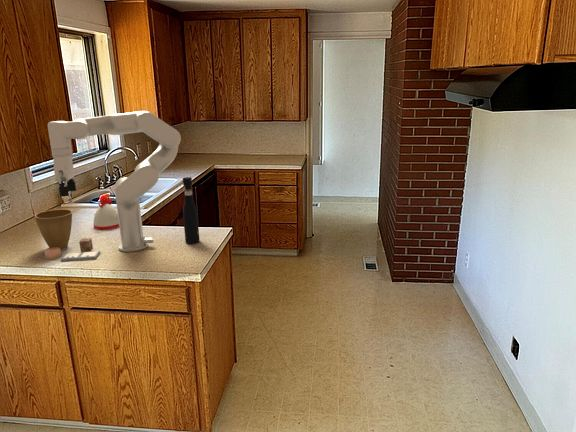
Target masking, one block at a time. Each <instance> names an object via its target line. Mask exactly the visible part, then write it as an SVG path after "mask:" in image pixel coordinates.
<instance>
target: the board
mask: <svg viewBox="0 0 576 432" xmlns="http://www.w3.org/2000/svg"><path fill="white" fill-rule="evenodd" d="M99 255H101V251H100V250H95V251H94V250H91V252H81V251H79V252H67V253H65V254H64V255H63V256H61V257H60V262H69V261H85V260H86V261H87V260H97V258H98V257H99Z"/></svg>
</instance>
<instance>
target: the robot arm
mask: <svg viewBox="0 0 576 432" xmlns="http://www.w3.org/2000/svg"><path fill="white" fill-rule="evenodd" d="M47 130H48V137H49V143H50V150H51V156H52V158H53V173H54V179H55V181H56V182H57V185H58V190H59V195H60V196H59V197H69V192H76V191H77V186H76V178H75V168H74V163H73V157H72V156H73V154H74V153H73V147H72V142H71V141H72V139H74V140H83V139H86V138H87V137H92V136H99V135H100V136H101V135H109V136H110V135H112V136H121V135H127V134H135V133H136V134H137V133H144V134H145V135H146V136H147V137H150V138H151V139H153V140H154V141H155V142H157V143H159V145H158V146H157V148H156V149H155V151H153V152H152V153H151V154H150V155H149V156H147V157H146V158H145V159H144V160H142V161H141V162H140V163H139V164H137V165H136V167H135V168H134V171H133V172H132V173H131V174H130V175H129V176H125V177H121V178H119V179H118V180H117V181H116V182H115V184H114V188H113V189H114V197H115V202H116V210H117V212H118V220H119V227H118V228H119V233H120V241H121V243H120V244H119V245H118V250H119V251H120V252H126V253H127V252H128V253H131V252H138V251H141V250H145V249H146V248H148V245H149V244H154V243H155V239H154V238H152V237H146V235H145V234H144V231H143V230H144V229H143V221H142V220H143V219H142V213H141V206H140V205H141V204H140V198H141V197H143V196H144V195H145V194H146V193H147V192H149V191H150V190H151V189H152V188H153V187H154V186H155V185H156V184H157V183H158V181H159V179H160V174H161V173H162V172H163V171H165V170H166V168H168V167H169V166H170V165H171V164H172V162H174V160H175V158H176V157H177V154H178V151H179V145H180V144H181V140H182V137H181V134H180V132H179V131H178V130H177V129H176V128H174V127H173V126H171V125H169V124H168V123H166V122H165V121H164V120H162V119H161V118H159V117H158V116H157V115H155V114H154V113H152V112H150V111H149V110H148V111H147V110H139V111H132V112H124V113H114V114H113V113H112V114H107V115H102V116H101V115H100V116H94V117H84V118H77V119H74V120H72V121H65V120H56V121H54V120H52V121H49V122H48V123H47Z"/></svg>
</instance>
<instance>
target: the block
mask: <svg viewBox="0 0 576 432" xmlns="http://www.w3.org/2000/svg"><path fill="white" fill-rule="evenodd" d="M78 243H79V249H80V252H92V251H93V249H94V247H93V241H92V238H91V237H87V238H86V237H85V238H81V239H80V240H79V242H78Z"/></svg>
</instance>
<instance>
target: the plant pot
mask: <svg viewBox="0 0 576 432" xmlns="http://www.w3.org/2000/svg"><path fill="white" fill-rule="evenodd" d="M34 217H35V222H36V224H37V227H38V230H39V232H40V234H41V236H42V238H43V240H44V241H45V244H46V245H47V247H48V248H53V247H59V248H60V250H62V249H66V248H67V247H68V245H69V242H70V238H71V234H72V233H71V232H72V226H73V210H71V209H62V208H61V209H58V208H57V209H50V210H45V211H41V212H37V213H36V214H34Z"/></svg>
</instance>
